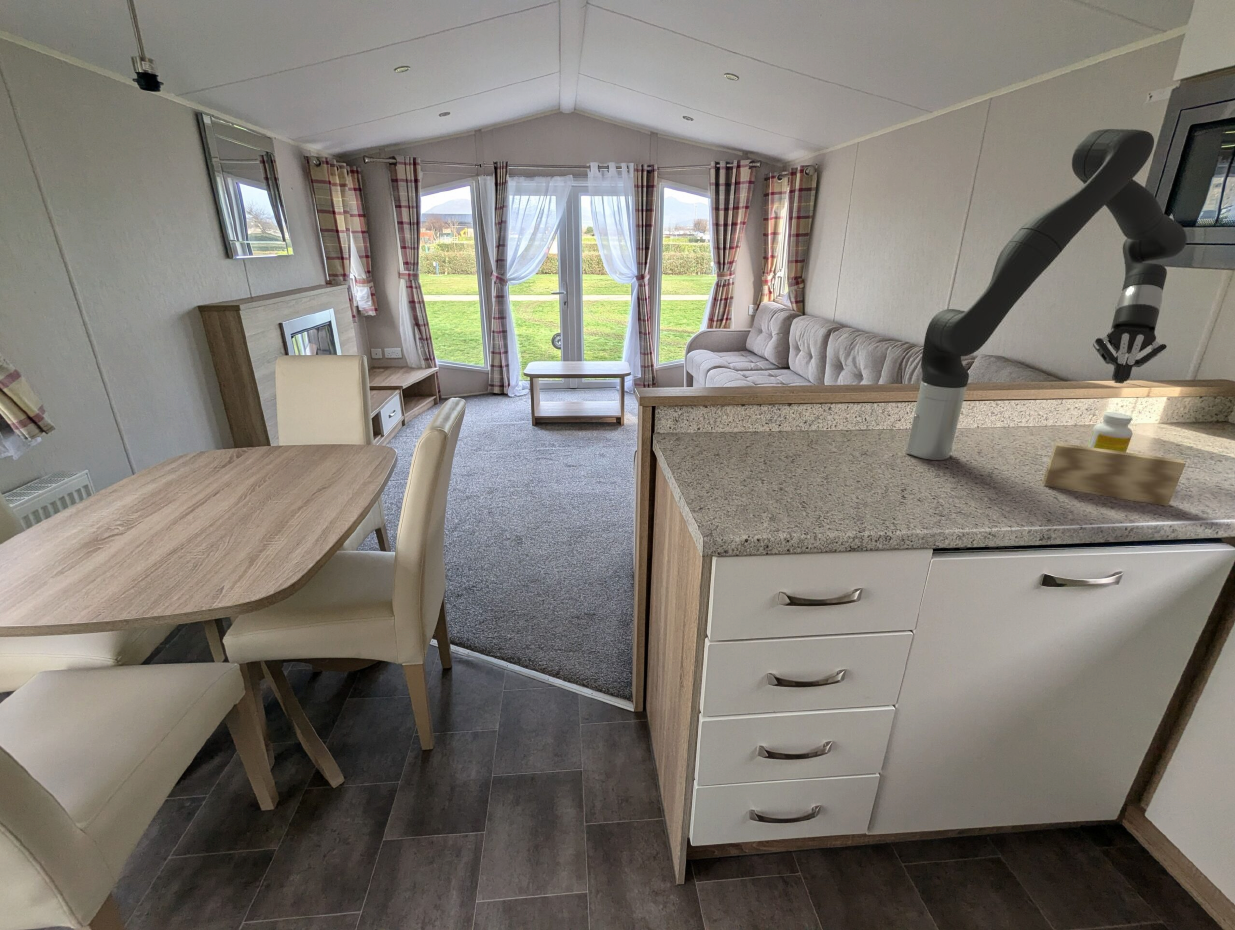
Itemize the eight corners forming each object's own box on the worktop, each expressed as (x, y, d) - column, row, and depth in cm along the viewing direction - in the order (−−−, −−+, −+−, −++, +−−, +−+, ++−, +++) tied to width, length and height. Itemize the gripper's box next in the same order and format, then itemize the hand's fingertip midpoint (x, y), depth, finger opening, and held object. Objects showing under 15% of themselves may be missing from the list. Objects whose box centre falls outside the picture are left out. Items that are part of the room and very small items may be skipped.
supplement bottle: (1124, 477, 124) (1146, 420, 119) (1090, 474, 125) (1109, 418, 120) (1107, 465, 130) (1126, 411, 125) (1074, 463, 131) (1092, 409, 126)
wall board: (1043, 485, 119) (1056, 445, 116) (1039, 474, 125) (1052, 436, 121) (1168, 506, 111) (1186, 463, 107) (1158, 493, 116) (1174, 452, 112)
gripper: (1105, 300, 129) (1087, 371, 127) (1182, 305, 122) (1165, 380, 121) (1095, 315, 135) (1078, 383, 134) (1169, 321, 129) (1152, 392, 127)
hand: (1119, 382), depth 127 cm, fingers closed
